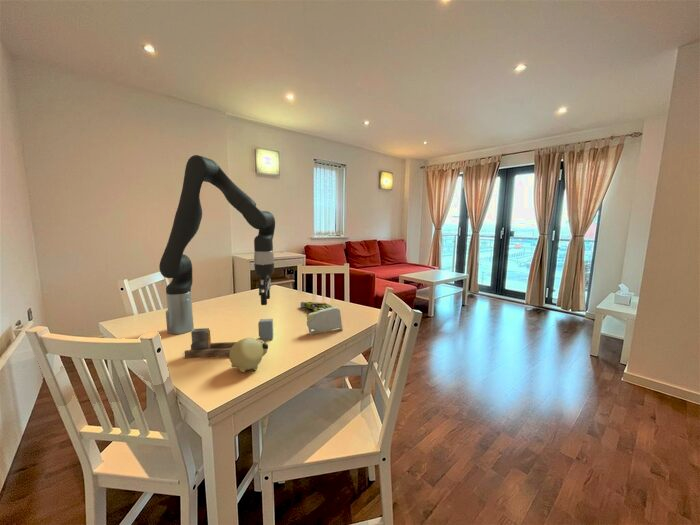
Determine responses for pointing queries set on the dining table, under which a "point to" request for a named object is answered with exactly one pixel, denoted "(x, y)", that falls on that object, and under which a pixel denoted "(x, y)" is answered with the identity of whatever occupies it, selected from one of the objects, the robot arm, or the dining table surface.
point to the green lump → (315, 305)
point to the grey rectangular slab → (324, 320)
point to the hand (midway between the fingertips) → (265, 301)
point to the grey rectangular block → (265, 329)
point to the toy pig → (247, 353)
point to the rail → (212, 351)
